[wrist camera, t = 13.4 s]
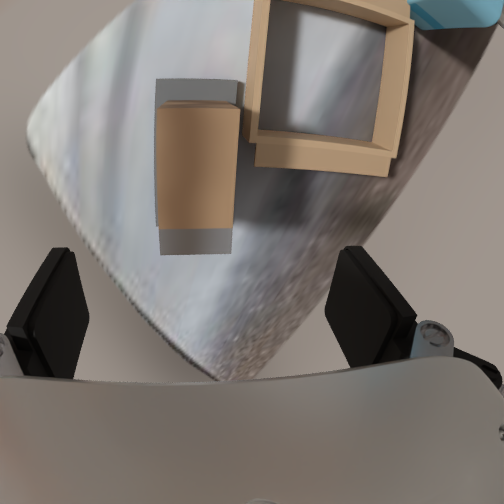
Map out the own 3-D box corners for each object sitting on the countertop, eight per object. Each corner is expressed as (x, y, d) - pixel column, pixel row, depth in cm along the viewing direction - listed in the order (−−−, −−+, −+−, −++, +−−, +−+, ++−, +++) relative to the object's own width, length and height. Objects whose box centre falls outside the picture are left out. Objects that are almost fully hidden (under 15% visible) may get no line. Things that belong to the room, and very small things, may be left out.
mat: (236, 80, 26) (237, 80, 25) (226, 222, 33) (227, 225, 32) (157, 79, 24) (156, 78, 24) (156, 223, 31) (156, 226, 30)
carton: (392, 7, 23) (415, 3, 20) (372, 166, 32) (392, 177, 29) (257, -27, 20) (266, -41, 17) (240, 155, 29) (247, 166, 26)
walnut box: (225, 100, 26) (240, 109, 18) (219, 206, 31) (231, 253, 23) (167, 100, 25) (156, 108, 17) (167, 206, 30) (160, 255, 22)
